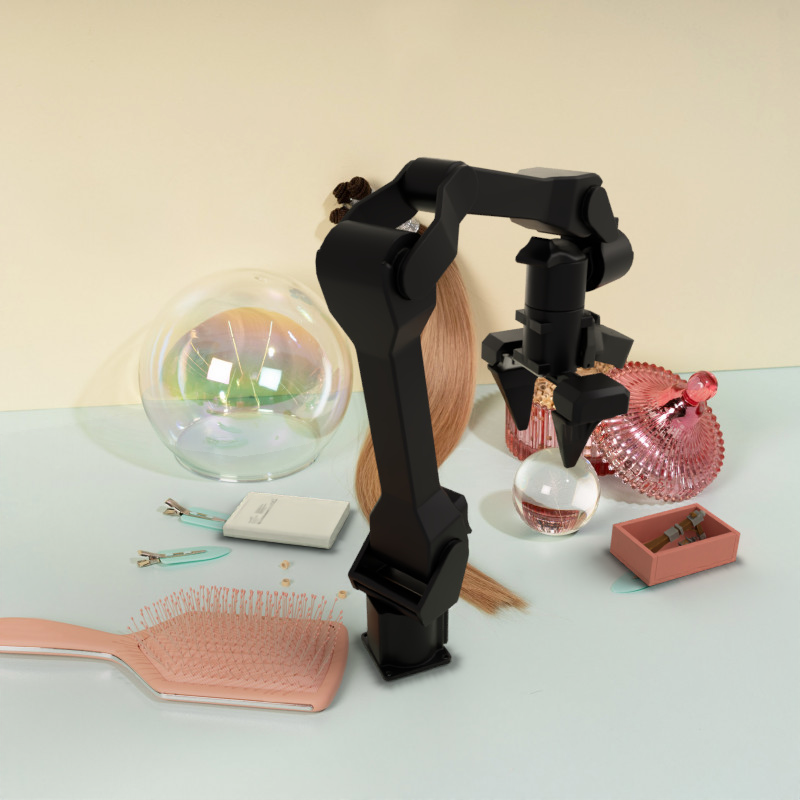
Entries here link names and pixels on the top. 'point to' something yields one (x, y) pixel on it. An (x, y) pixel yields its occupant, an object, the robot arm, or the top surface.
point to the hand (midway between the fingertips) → (544, 447)
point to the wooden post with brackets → (680, 532)
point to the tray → (673, 545)
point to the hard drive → (288, 519)
